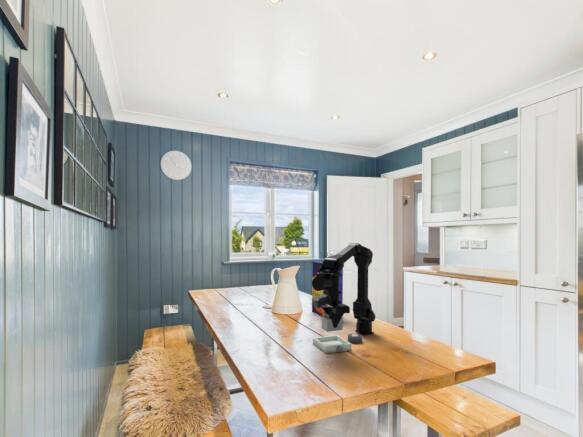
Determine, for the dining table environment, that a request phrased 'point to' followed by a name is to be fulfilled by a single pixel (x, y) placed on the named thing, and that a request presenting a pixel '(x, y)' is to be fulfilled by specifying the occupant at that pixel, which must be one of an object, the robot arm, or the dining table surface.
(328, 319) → the grey stepped block
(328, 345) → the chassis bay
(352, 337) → the spare wheel
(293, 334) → the dining table surface
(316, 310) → the cereal box
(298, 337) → the dining table surface
